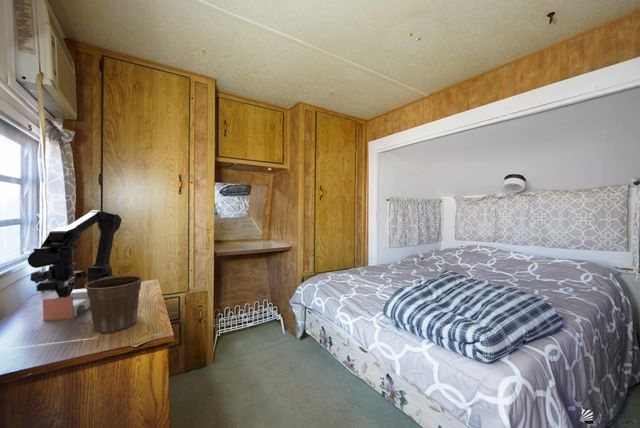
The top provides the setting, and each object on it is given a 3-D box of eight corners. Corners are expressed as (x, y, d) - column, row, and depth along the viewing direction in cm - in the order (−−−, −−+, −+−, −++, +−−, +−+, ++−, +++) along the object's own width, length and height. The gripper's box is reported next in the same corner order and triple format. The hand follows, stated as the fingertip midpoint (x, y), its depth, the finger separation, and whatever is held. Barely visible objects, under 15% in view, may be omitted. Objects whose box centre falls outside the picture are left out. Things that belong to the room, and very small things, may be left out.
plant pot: (98, 319, 99) (97, 277, 98) (148, 313, 105) (147, 273, 104) (75, 340, 84) (74, 290, 83) (135, 332, 89) (134, 285, 89)
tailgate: (44, 321, 97) (43, 298, 97) (74, 318, 100) (73, 296, 100) (42, 321, 97) (42, 299, 96) (72, 319, 99) (72, 297, 99)
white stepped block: (67, 306, 112) (67, 290, 112) (98, 303, 115) (97, 287, 115) (41, 321, 98) (41, 302, 97) (77, 317, 101) (77, 299, 100)
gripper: (53, 258, 108) (54, 296, 108) (16, 268, 90) (17, 313, 90) (86, 257, 111) (87, 293, 111) (56, 266, 93) (57, 310, 93)
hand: (63, 302), depth 101 cm, fingers closed
